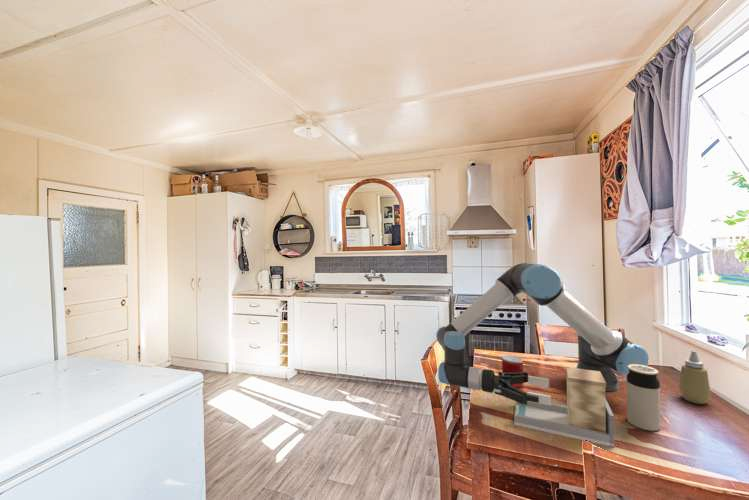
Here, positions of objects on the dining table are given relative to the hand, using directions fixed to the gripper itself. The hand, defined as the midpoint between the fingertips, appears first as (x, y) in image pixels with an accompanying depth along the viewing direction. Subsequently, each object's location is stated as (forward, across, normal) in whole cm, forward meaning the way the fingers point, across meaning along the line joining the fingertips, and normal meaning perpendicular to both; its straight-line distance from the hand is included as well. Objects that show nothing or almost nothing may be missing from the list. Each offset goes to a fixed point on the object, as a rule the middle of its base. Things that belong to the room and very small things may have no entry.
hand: (550, 391), depth 101 cm
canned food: (-13, -24, -10) cm, 29 cm away
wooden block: (+9, 0, -9) cm, 13 cm away
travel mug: (+26, -11, -10) cm, 30 cm away
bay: (+2, 0, -10) cm, 10 cm away
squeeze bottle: (+47, -38, -10) cm, 61 cm away
